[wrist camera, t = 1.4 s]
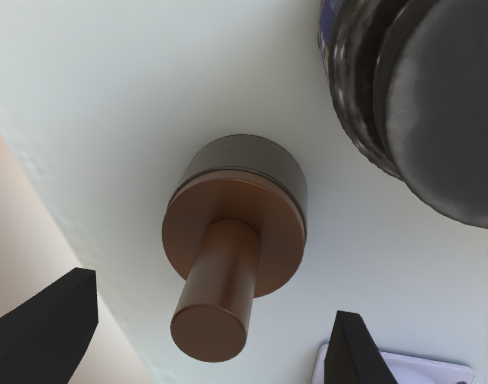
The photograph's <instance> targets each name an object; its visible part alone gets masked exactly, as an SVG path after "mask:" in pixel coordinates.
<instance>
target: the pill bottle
mask: <svg viewBox="0 0 488 384" xmlns="http://www.w3.org/2000/svg"><path fill="white" fill-rule="evenodd" d="M318 45H319V48H320V51H321V55H322V59H323V63H324V67H325V71H326V76H327V79H328V84H329V88H330V92H331V96H332V100H333V106H334V109H335V111H336V113H337V116H338V118H339V120H340V122H341V125H342V128H343V129H344V130H345V132H346V134H347V135H348V136H349V138H350V139H351V140H352V142H353V144H354V145H355V146H356V147H357V148H358V149H359V151H360V152H361V153H362V154H363V155H364V156H366V157H367V158H368V160H369V161H370V162H371V163H374V164H375V165H376V166H377V167H378V168H380V169H382V170H383V172H385V173H387V174H389V175H391V176H393V177H396V178H398V179H399V180H401V181H403V182H405V183H406V185H407V186H408V188H409V189H410V190H411V191H412V193H414V194H415V195H416V196H417V197H418V198H419V199H420V200H421V201H423V202H424V203H425V204H427V205H429V206H430V207H432V208H433V209H434V210H435V211H437V212H438V213H440V214H442V215H444V216H446V217H448V218H451V219H453V220H455V221H459V222H461V223H463V224H466V225H471V226H476V227H480V228H485V229H488V0H322V3H321V10H320V16H319V26H318Z"/></svg>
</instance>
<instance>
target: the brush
mask: <svg viewBox="0 0 488 384" xmlns="http://www.w3.org/2000/svg"><path fill="white" fill-rule="evenodd" d="M306 239H307V188H306V182H305V178H304V175H303V173H302V171H301V169H300V167H299V165H298V164H297V162H296V161H295V159H294V158H293V157H292V156H291V155H290V154H289V153H288V152H287V151H286V150H285V149H283V148H282V147H280V146H279V145H277V144H276V143H274V142H272V141H270V140H267V139H264V138H261V137H257V136H252V135H233V136H227V137H224V138H220V139H218V140H216V141H213V142H211V143H210V144H208V145H207V146H205V147H204V148H203V149H202V150H201V151H199V153H198V154H197V155H196V156H195V157H194V159H193V160H192V162H191V163H190V165H189V167H188V169H187V170H186V172H185V174H184V176H183V177H182V179H181V181H180V183H179V184H178V186H177V188H176V190H175V191H174V193H173V195H172V197H171V199H170V201H169V203H168V206H167V210H166V214H165V216H164V220H163V224H162V242H163V247H164V250H165V253H166V256H167V258H168V259H169V261H170V263H171V265H172V266H173V268H174V269H175V270H176V271H177V273H178V274H179V275H180V276H181V277H182V278H183V279H184V280H186V283H185V286H184V288H183V291H182V294H181V296H180V299H179V302H178V304H177V307H176V310H175V313H174V315H173V318H172V321H171V325H170V331H171V336H172V338H173V341H174V342H175V344H176V345H177V347H178V348H179V349H180V350H181V351H183V352H184V353H185V354H187V355H188V356H190V357H192V358H194V359H197V360H200V361H204V362H223V361H227V360H230V359H232V358H234V357H235V356H237V355H238V354H239V353H240V352H241V351H242V349H243V348H244V346H245V344H246V340H247V334H248V328H249V321H250V315H251V308H252V302H253V298H258V297H261V296H264V295H267V294H270V293H272V292H274V291H276V290H277V289H279V288H280V287H282V286H283V285H284V284H285V283H287V282H288V281H289V280H290V279H291V277H292V276H293V275H294V274H295V272H296V271H297V269H298V267H299V265H300V263H301V261H302V257H303V254H304V248H305V244H306Z"/></svg>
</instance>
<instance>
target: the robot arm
mask: <svg viewBox="0 0 488 384" xmlns="http://www.w3.org/2000/svg"><path fill="white" fill-rule="evenodd" d="M97 306H98V305H97V287H96V271H95V270H89V269H83V268H77V267H76V268H74V269H73V270H71V271H70V272H68V273H67V274H65V275H64V276H62V277H61V278H59V279H58V280H57V281H55V282H54V283H52V284H51V285H49V286H48V287H46V288H45V289H43V290H42V291H41V292H39V293H38V294H36V295H35V296H33V297H32V298H30V299H29V300H27V301H26V302H24V303H23V304H21V305H20V306H18V307H17V308H15V309H14V310H12V311H10V312H9V313H7V314H6V315H4V316H2V317H1V318H0V384H68V382H69V380H70V378H71V376H72V375H73V373H74V371H75V370H76V368H77V366H78V365H79V363H80V361H81V360H82V358H83V356H84V354H85V352H86V350H87V348H88V346H89V343H90V341H91V339H92V337H93V334H94V332H95V329H96V327H97V325H98V307H97ZM474 377H475V376H474V374H473V371H472V369H471V368H470V367H467V366H463V365H457V364H451V363H445V362H439V361H433V360H428V359H422V358H416V357H410V356H404V355H398V354H392V353H386V352H380V351H379V350H378V348H377V346H376V344H375V343H374V341H373V339H372V337H371V335H370V333H369V331H368V329H367V327H366V325H365V323H364V321H363V319H362V317H361V316H360V314H358V313H351V312H345V311H339V310H338V311H337V315H336V319H335V322H334V326H333V330H332V333H331V337H330V341H329V343H326V344H323V345H322V346H321V347H320V350H319V354H318V358H317V362H316V366H315V370H314V374H313V378H312V381H311V384H472V382H473V380H474ZM459 381H461V382H459Z"/></svg>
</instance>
